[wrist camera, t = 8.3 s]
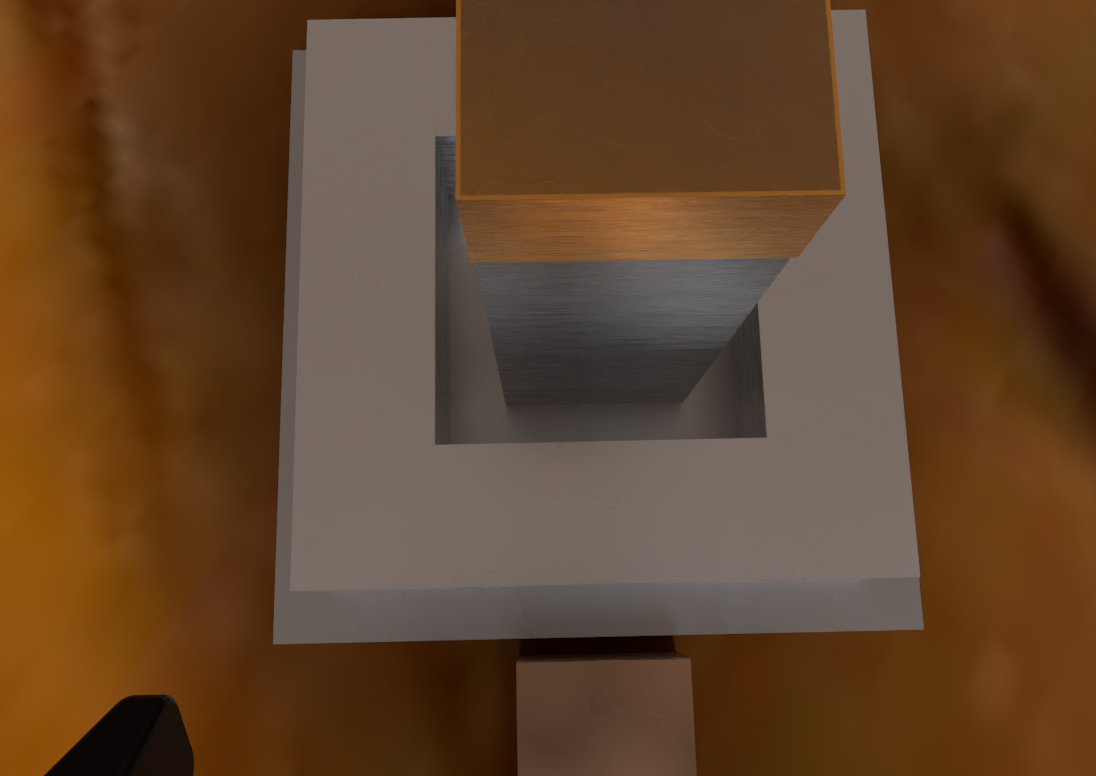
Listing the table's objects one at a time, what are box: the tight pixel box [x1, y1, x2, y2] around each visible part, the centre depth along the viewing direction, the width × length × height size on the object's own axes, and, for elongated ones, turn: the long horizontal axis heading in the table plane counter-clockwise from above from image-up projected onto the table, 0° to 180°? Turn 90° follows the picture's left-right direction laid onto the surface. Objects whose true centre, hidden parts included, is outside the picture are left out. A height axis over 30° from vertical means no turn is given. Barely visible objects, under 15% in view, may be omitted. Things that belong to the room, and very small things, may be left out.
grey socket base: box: [273, 10, 924, 776], centre depth 21 cm, size 18×14×4 cm
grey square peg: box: [456, 0, 846, 405], centre depth 17 cm, size 4×4×12 cm
